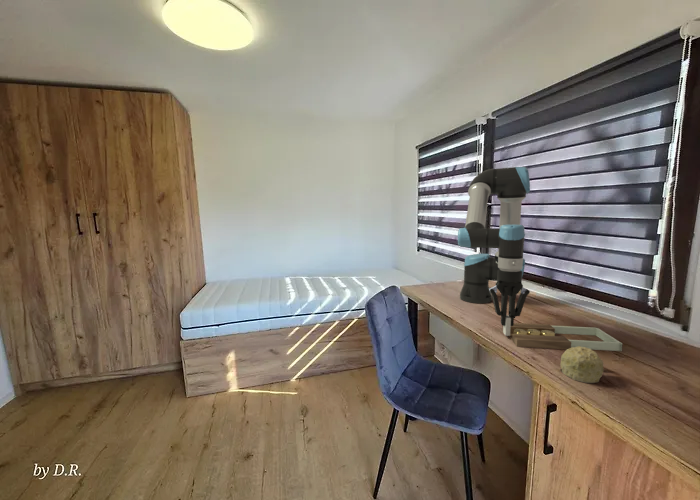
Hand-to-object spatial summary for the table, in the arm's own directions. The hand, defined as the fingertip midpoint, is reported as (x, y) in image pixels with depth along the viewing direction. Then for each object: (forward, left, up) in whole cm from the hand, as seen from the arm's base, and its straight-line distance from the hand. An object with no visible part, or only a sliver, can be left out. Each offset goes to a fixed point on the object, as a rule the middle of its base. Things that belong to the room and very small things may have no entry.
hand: (506, 334), depth 106 cm
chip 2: (0, +9, -1) cm, 9 cm away
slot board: (0, +9, -2) cm, 9 cm away
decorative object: (+21, +13, -2) cm, 25 cm away
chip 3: (0, +13, -1) cm, 13 cm away
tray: (0, +24, -2) cm, 24 cm away
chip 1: (0, +4, -1) cm, 5 cm away
